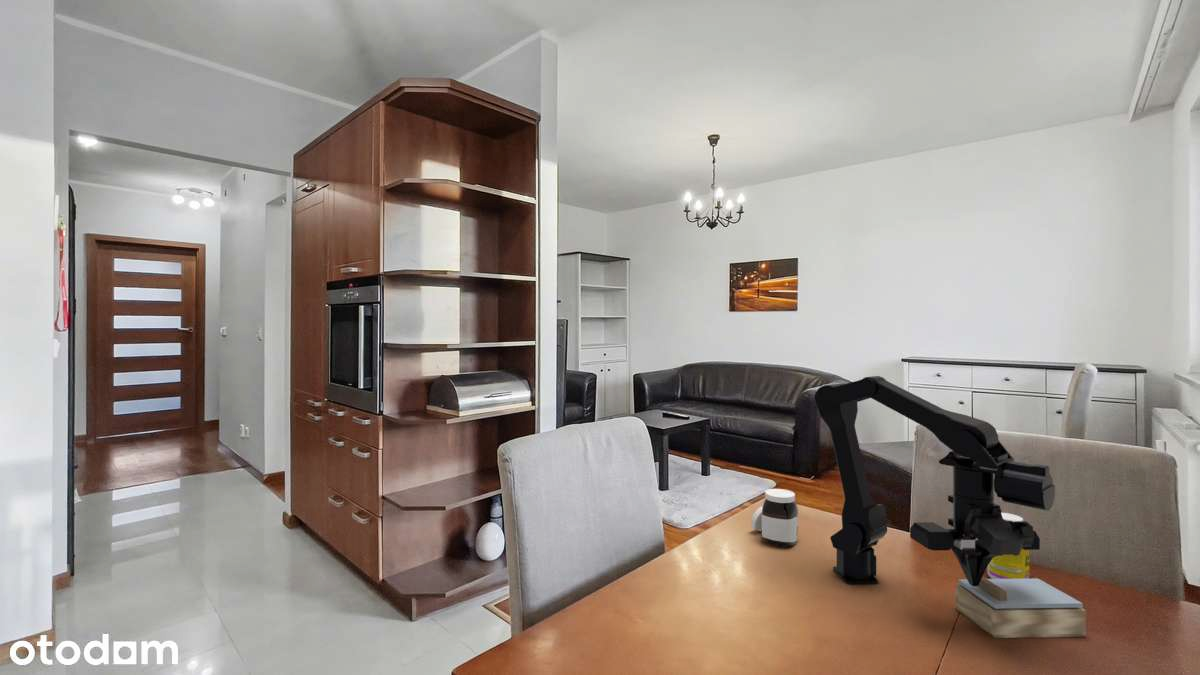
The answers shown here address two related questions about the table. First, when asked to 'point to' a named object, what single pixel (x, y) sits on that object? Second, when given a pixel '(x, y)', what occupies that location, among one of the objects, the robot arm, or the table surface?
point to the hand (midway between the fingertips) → (973, 585)
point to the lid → (1020, 594)
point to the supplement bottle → (1010, 560)
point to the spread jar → (777, 518)
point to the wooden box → (1021, 618)
